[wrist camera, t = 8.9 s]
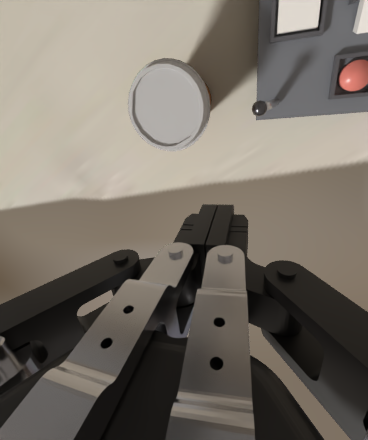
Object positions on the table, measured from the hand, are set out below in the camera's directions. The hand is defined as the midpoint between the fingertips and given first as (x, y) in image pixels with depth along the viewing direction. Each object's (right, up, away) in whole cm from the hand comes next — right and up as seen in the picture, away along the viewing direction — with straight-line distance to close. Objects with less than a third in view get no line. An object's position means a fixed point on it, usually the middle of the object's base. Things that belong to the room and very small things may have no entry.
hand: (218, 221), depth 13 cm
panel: (+15, +22, +18) cm, 32 cm away
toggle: (+10, +15, +19) cm, 26 cm away
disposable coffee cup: (-1, +18, +25) cm, 31 cm away
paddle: (+10, +23, +14) cm, 29 cm away
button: (+17, +16, +16) cm, 29 cm away
